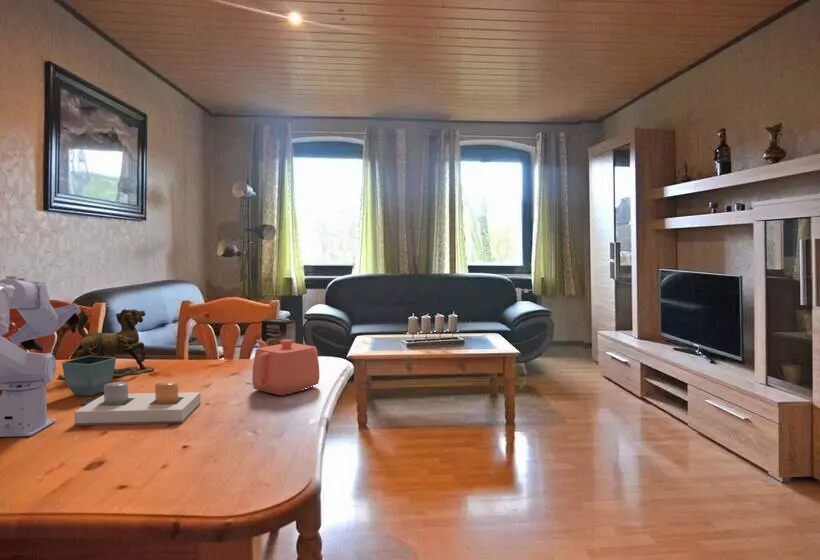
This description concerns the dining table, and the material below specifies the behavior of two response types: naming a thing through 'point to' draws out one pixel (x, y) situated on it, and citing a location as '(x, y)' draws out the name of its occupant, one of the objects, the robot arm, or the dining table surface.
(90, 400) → the mat
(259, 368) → the teapot
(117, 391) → the grey button
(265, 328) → the coffee box
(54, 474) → the dining table surface
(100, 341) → the figurine
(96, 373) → the flower pot
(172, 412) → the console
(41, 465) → the dining table surface
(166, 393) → the tan button
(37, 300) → the robot arm
